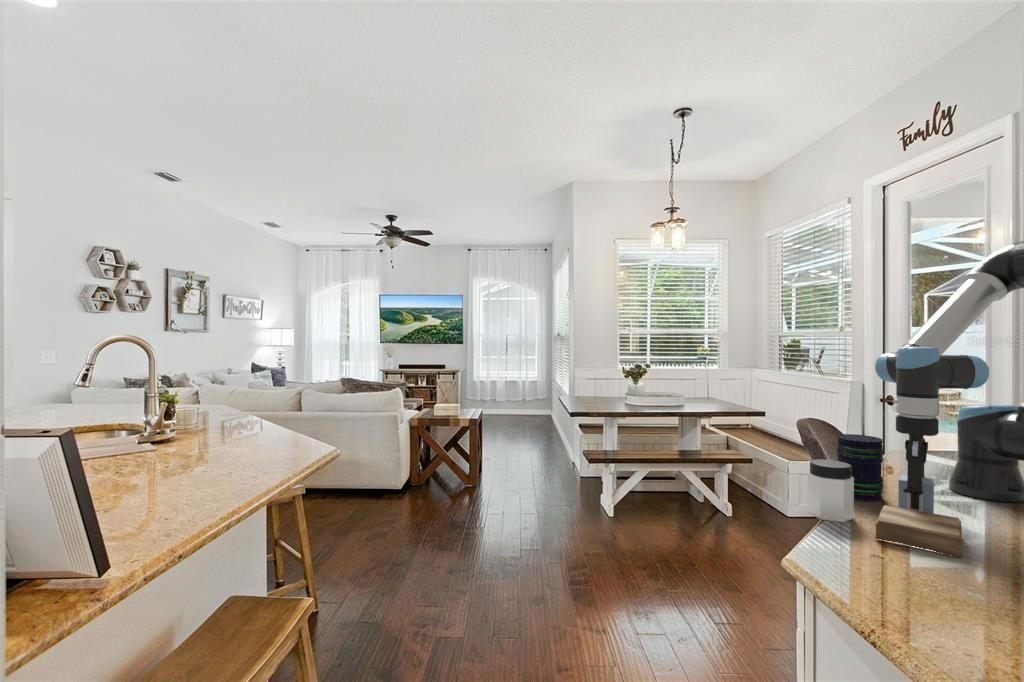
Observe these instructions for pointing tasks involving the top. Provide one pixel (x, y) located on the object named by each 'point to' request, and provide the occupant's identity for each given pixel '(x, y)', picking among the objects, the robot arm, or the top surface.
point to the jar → (831, 490)
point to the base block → (920, 530)
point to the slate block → (927, 493)
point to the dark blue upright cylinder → (863, 464)
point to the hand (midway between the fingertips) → (915, 518)
